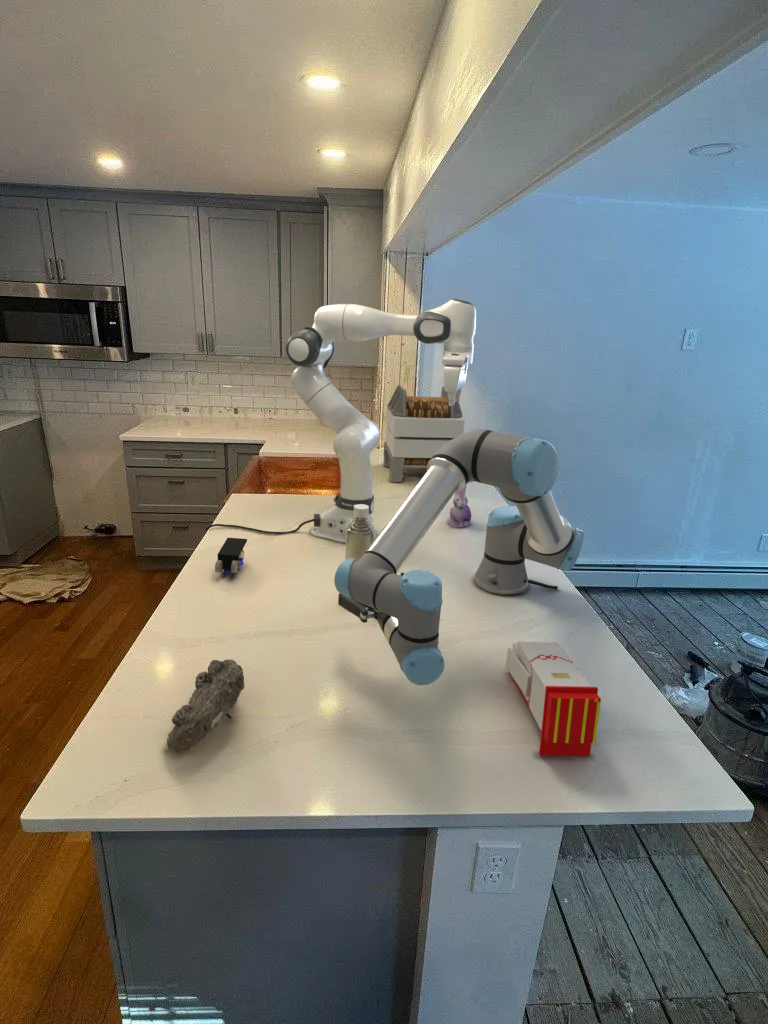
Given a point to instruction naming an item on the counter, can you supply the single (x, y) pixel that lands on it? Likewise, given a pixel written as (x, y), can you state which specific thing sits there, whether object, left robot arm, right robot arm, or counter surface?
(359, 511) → the cap
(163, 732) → the counter surface
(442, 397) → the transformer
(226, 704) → the fossil
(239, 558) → the figurine character
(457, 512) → the figurine
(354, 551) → the silver ridged cylinder
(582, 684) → the toy
